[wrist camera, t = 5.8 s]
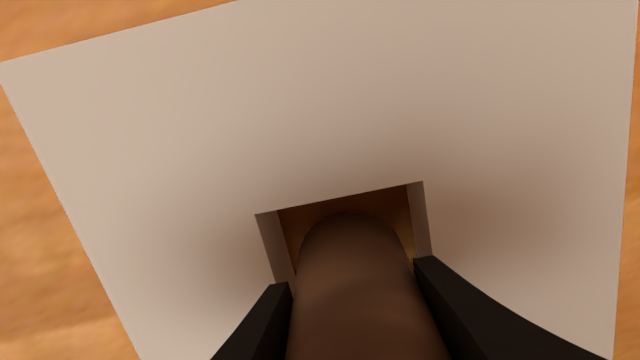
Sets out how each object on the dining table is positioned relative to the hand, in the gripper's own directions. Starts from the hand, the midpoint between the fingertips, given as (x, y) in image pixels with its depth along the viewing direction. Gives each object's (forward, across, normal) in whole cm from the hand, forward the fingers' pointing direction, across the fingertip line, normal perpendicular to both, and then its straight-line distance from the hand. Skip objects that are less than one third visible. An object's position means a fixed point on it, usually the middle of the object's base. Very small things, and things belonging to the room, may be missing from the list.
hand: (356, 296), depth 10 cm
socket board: (+4, 0, 0) cm, 4 cm away
